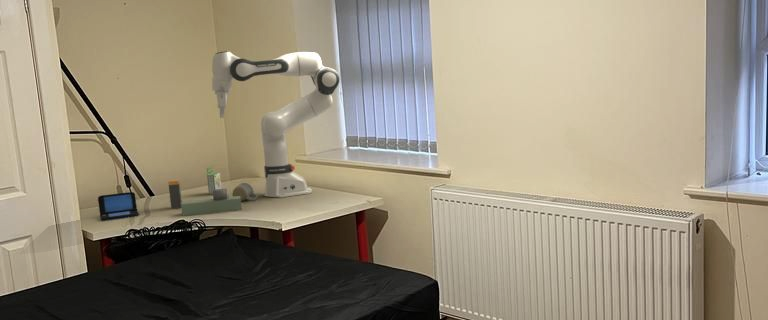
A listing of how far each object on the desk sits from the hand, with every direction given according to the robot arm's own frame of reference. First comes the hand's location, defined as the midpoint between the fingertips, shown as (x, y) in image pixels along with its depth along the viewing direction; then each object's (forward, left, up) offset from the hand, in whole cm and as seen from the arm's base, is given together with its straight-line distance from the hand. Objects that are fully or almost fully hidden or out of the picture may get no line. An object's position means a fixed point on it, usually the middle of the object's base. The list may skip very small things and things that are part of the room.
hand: (221, 117), depth 329 cm
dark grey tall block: (+24, +6, -39) cm, 46 cm away
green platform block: (+8, +21, -39) cm, 45 cm away
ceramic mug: (-7, +6, -39) cm, 40 cm away
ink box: (+7, -20, -39) cm, 44 cm away
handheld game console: (+48, +12, -39) cm, 63 cm away
